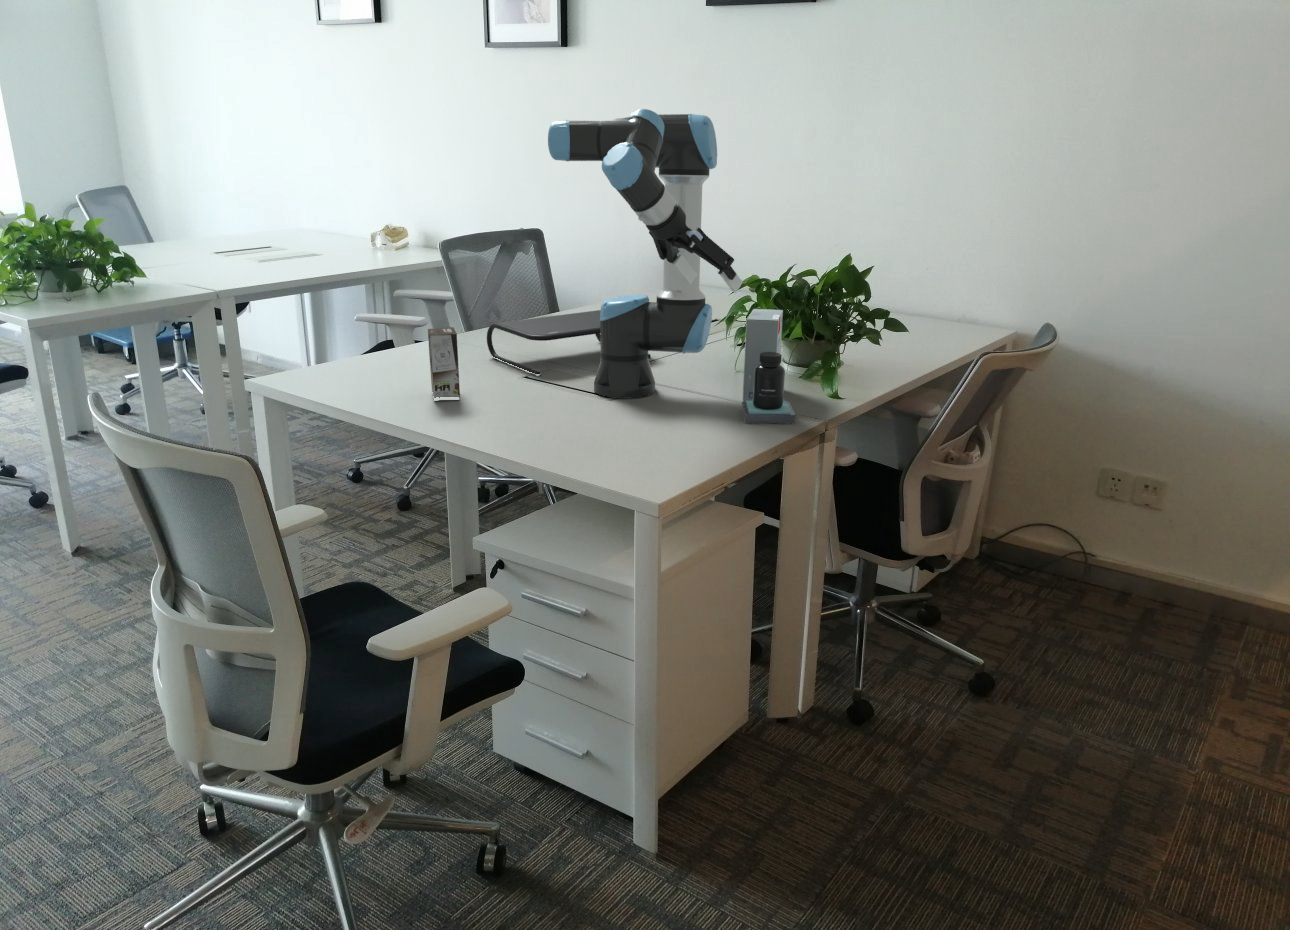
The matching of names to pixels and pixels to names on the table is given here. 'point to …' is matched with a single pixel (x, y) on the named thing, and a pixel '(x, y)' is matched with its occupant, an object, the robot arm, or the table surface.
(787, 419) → the scale base
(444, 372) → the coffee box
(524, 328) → the monitor stand
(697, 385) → the table surface
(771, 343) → the hard drive box
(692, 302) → the robot arm
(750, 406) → the scale plate
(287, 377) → the table surface
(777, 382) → the supplement bottle
